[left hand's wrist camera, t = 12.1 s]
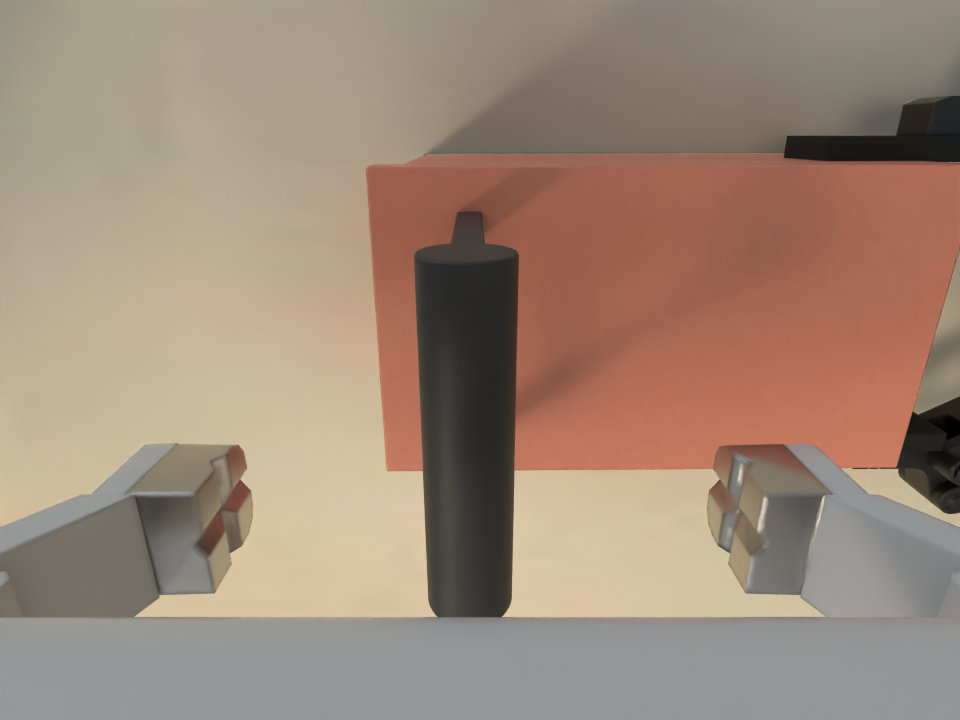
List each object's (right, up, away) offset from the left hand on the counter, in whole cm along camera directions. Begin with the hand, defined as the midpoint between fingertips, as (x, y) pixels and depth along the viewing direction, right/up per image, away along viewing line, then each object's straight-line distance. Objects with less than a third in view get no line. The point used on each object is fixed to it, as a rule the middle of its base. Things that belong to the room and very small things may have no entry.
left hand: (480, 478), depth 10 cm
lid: (+5, +3, +9) cm, 11 cm away
